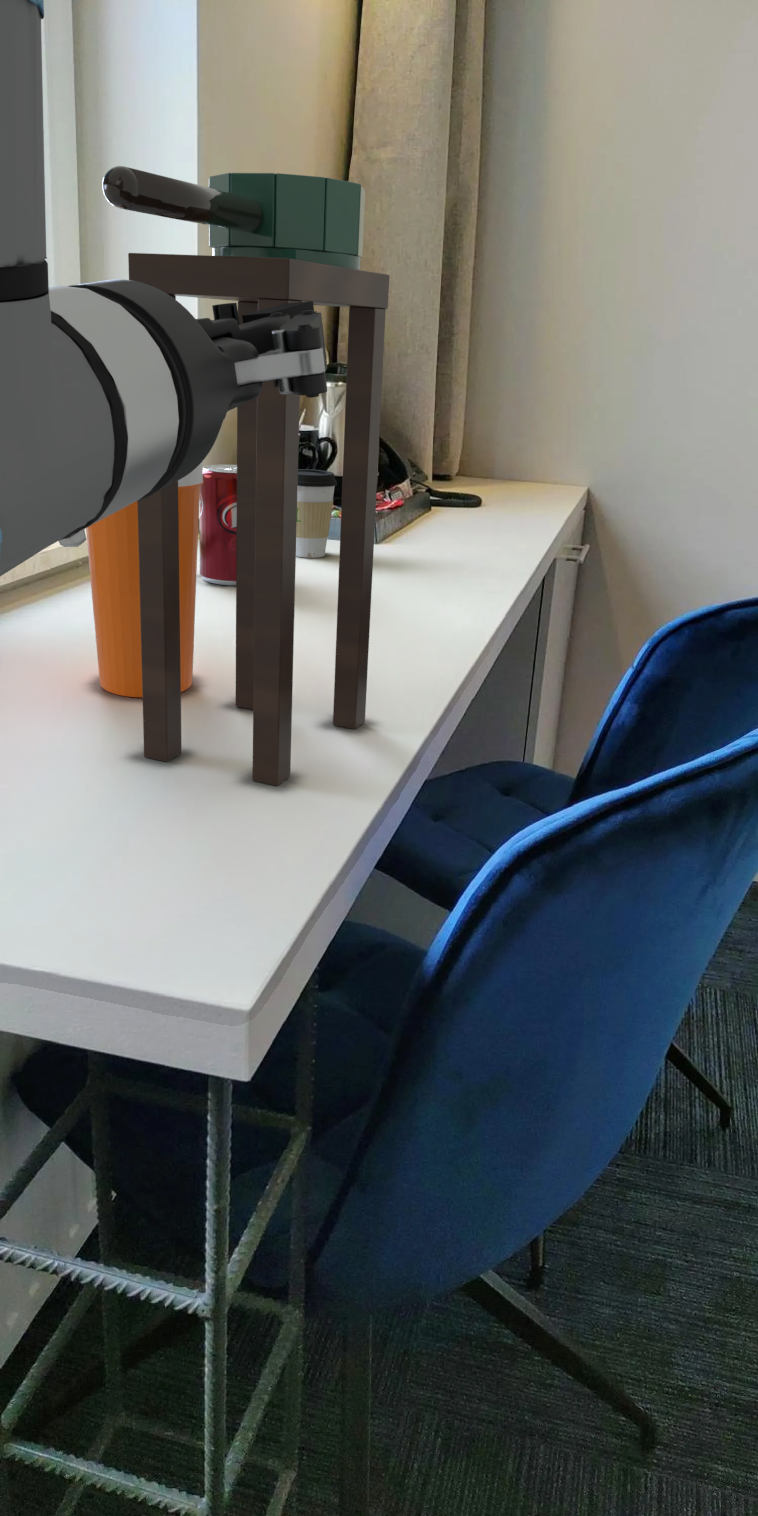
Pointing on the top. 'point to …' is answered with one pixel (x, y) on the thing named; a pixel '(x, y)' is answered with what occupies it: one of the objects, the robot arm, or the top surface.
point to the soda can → (218, 524)
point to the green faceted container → (255, 212)
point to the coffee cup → (313, 511)
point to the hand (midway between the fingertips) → (303, 329)
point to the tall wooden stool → (269, 511)
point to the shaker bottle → (138, 590)
